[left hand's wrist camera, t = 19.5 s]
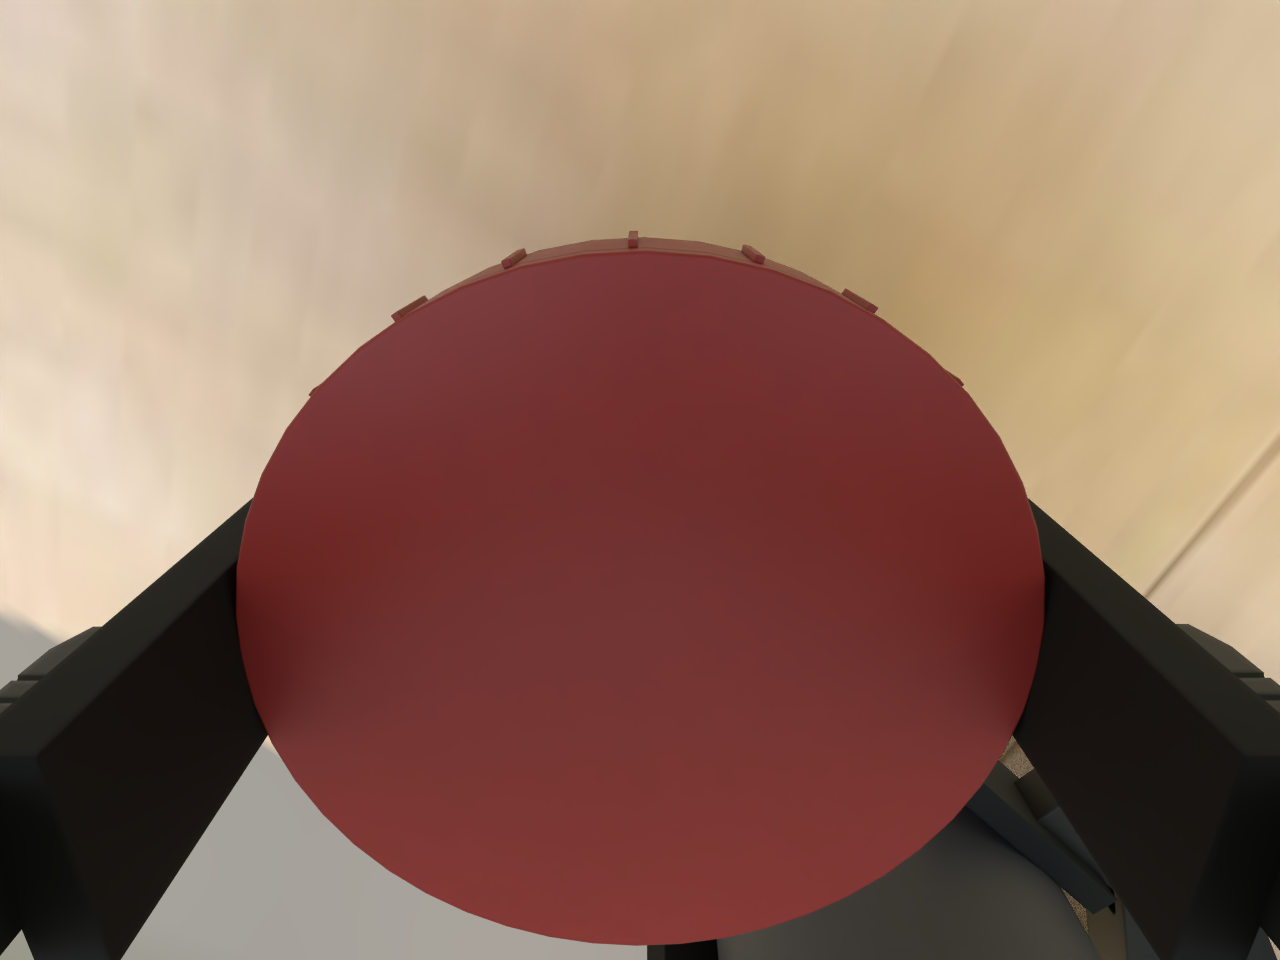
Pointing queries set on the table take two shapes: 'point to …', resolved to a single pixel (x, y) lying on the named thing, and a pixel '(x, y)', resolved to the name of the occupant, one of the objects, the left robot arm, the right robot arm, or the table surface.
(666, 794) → the lid
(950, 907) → the jar
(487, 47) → the table surface
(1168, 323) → the table surface
